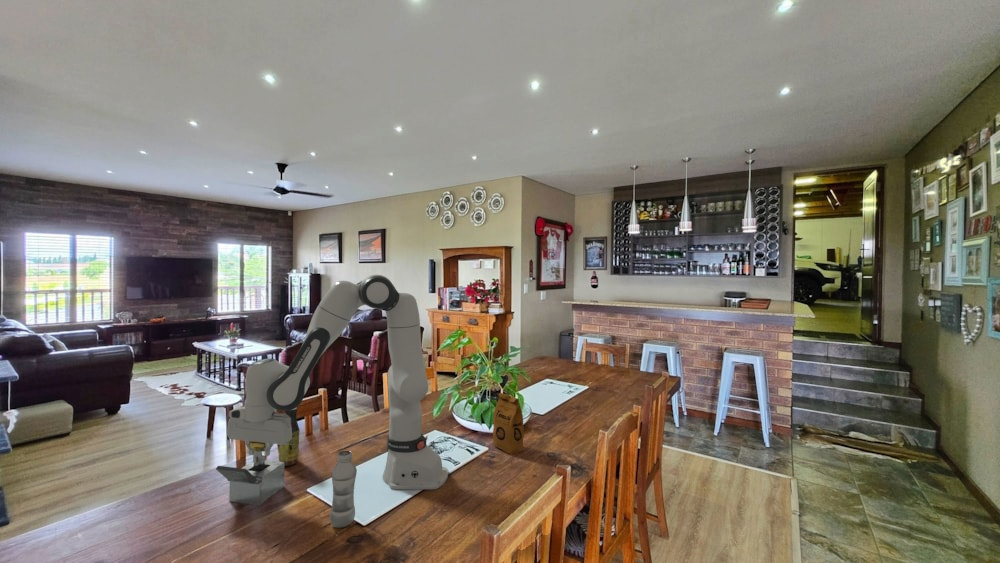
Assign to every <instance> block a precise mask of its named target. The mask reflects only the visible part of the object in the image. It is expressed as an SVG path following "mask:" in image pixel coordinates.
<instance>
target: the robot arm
mask: <svg viewBox="0 0 1000 563" xmlns="http://www.w3.org/2000/svg"><path fill="white" fill-rule="evenodd" d="M362 306H367V307H370V308H371V309H375V310H380V311H384V312H385V315H386V324H387V344H388V352H389V357H390V363H391V365H390V366H389V368H388V370H387V395H388V398H387V399H388V409H389V410H388V412H389V420H388V422H389V423H388V435H387V440H386V441H387V442H386V450H387V455H386V463H385V466H384V470H383V474H382V479H383V481H384V483H387V484H388V486H389V488H390V489H392V490H437V489H438V488H440V487H442V486H444V484H445V483H446V481H447V480H448V478H449V469H448V468H447V467H445V466H443V462H442V458H441V456H440V454H438V453H437V452H435V451H434V450H433V449H432V448H431V447H429V446H428V445H427V440H428V436H429V435H426V436H424V435H423V432H422V421H423V420H422V418H423V417H422V416H423V412H422V406H421V400H423V399H424V398H425V397H426V396H427V393H428V391H429V381H428V378H427V370H426V364H425V359H424V355H423V348H422V337H421V336H422V335H421V318H420V311H419V305H418V303H417V299H416V297H415V296H414V295H413V294H411V293H406V292H399V291H398V290H397V288H396V287H395V286H394V284H393V283H392V282H391V280H390V279H389V278H388V277H387V276H384V275H382V274H372V275H369V276H367V277H366V278H364V279H363V280H360V281H359V282H358V283H353V282H351V281H348V280H339V281H336V282H335V283H334V284H333V285H332V286H331V287H330V288H329V290H328V291H327V292H326V293H325V295H324V296H323V298H322V299H321V300H320V302H319V304H318V305H317V307H316V309H315V310H314V313H313V315H312V317H311V320H310V322H309V326H308V328H307V331H306V334H305V337H304V340H303V342H302V345H301V346H300V348H299V350H298V351H297V353H296V354H295V356H294V358H293V360H292V362H291V363H290V364H289V365H286V364H284V363H281V362H279V361H278V360H276V358H263V359H260V360H256V361H254V362H252V363H251V364H249V366H248V367H247V369H246V374H245V380H244V381H245V383H244V391H245V400H244V405H241V406H239V407H235V408H234V409H231V410H229V411H228V421H227V428H226V429H227V430H226V435H227V437H228V439H229V440H234V441H244V442H245V444H244V445H245V446H246V448H247V449H248V455H250V456H253V449H250V442H251V441H252V442H261V443H265V446H267V447H266V448H265V450H263V451H262V456H265V458H266V457H268V456H270V455H271V449H272V447H273V446H274V445H279V446H280V445H284V444H286V443H288V442H289V441H290V440H291V439H292V427H291V418H290V417H289V416H288V415H287V414H285V411H289V410H292V409H294V408H298V407H299V406H300V404H302V401H303V400H304V397H305V395H306V393H307V391H308V389H309V387H310V384H311V378H310V375H311V373H312V371H313V370H314V368H315V367H316V365H317V363H318V362H319V359H320V358H321V356H322V355H323V354H324V352H325V351H326V350H327V349H328V348H329V347H330V346H331V345H332V344H333V343H334V342H335V341H336V340H337V339H338V338H339V337H340V336H341V334H342V333H343V332H344V331H345V330H346V328H347V326H348V325H349V323H350V321H351V320H352V319H353V317H354V315H355V314H356V312H357V310H358V309H360V307H362ZM277 411H281V412H284V413H281V412H277Z"/></svg>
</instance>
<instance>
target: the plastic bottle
mask: <svg viewBox="0 0 1000 563" xmlns="http://www.w3.org/2000/svg"><path fill="white" fill-rule="evenodd" d="M352 460H353V453H352V451H351V450H342V451H339V452H338V453H337V458H336V461H337V463H336V464H335V466H333V469H332V471H331V482H332V503H331V509H330V512H329V522H330V524H331V526H332V527H334V528H337V529H339V528H341V529H342V528H346V527H348V526H350V525H351V524H352V523H353V522H354V520H355V516H356V508H355V507H356V506H355V497H354V494H355V493H354V492H355V484H356V478H357V477H356V476H357V473H358V472H357V467H356V465H355V463H353V461H352Z"/></svg>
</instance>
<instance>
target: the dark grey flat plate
mask: <svg viewBox="0 0 1000 563" xmlns="http://www.w3.org/2000/svg"><path fill="white" fill-rule="evenodd" d="M242 468H243V467H240V468H239V467H232V466H231V467H230V466H224V465H217V466H216V468H215V470H216V471H217V472H218V473H219V474H220V475H222V476H223V477H224V478H225V479H226V480H227V481H228V482H230V481H232V482H240V483H248V484H258V483H259V480H257V479H256V478H255V477H254V476H253V475H252V474H251V473H250V472H249V471H248V470H247V469H242Z"/></svg>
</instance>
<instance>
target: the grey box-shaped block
mask: <svg viewBox="0 0 1000 563" xmlns="http://www.w3.org/2000/svg"><path fill="white" fill-rule="evenodd" d="M279 461H280V460H279ZM279 461H278V460H269V459H265V469H264V470H263V471H260V472H257V471H253V461H251V462H249V463H248V464H246V465H244V466H242V467H241V468H242V469H247V470H248V471H249V472H250V473H251V474H252V475H253V476H254V477H255V478H256V479H257V480H259V483H258V484H248V483H240V482H232V481H229V493H228V496H229V497H228V500H229V502H231V503H239V504H248V505H253V506H260V505H261V504H263V503H264V502H265V501H267V500H268V499H269V498H271V497H272V496H273V495H275V494H276V493H277V492H279V491H280V490H281V489H283V488H284V487H285V466H284V463H285V462H279Z"/></svg>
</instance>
